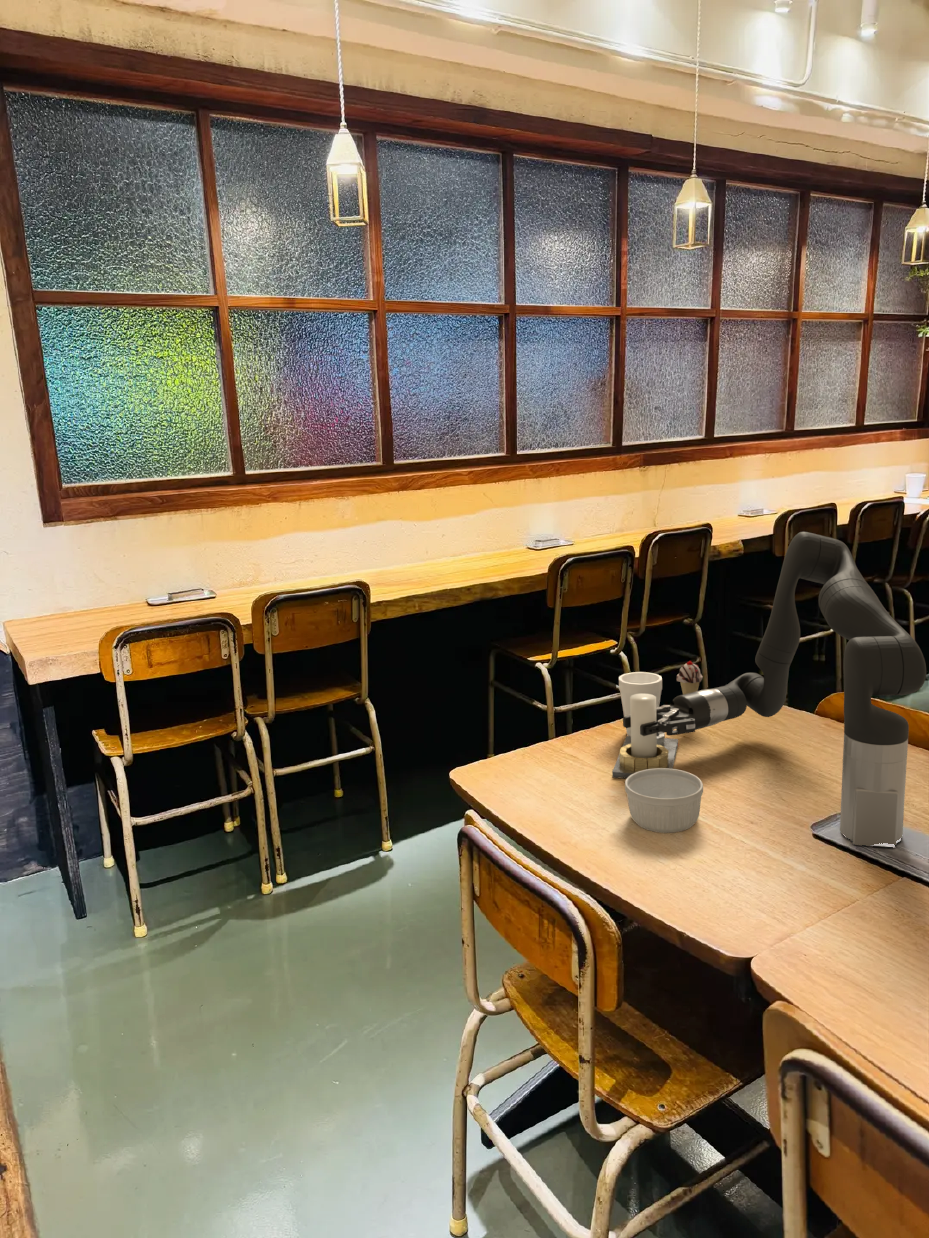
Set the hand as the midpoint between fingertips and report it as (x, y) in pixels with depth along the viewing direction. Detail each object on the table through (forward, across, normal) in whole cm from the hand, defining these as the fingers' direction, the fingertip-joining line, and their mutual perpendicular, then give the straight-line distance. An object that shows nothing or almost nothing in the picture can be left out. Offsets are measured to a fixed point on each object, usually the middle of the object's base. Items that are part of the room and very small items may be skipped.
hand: (632, 726), depth 166 cm
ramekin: (+8, +19, +10) cm, 23 cm away
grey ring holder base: (-6, -3, +10) cm, 12 cm away
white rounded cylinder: (-3, 0, +8) cm, 8 cm away
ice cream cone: (-27, -14, +10) cm, 32 cm away
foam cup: (-14, -16, +10) cm, 23 cm away
